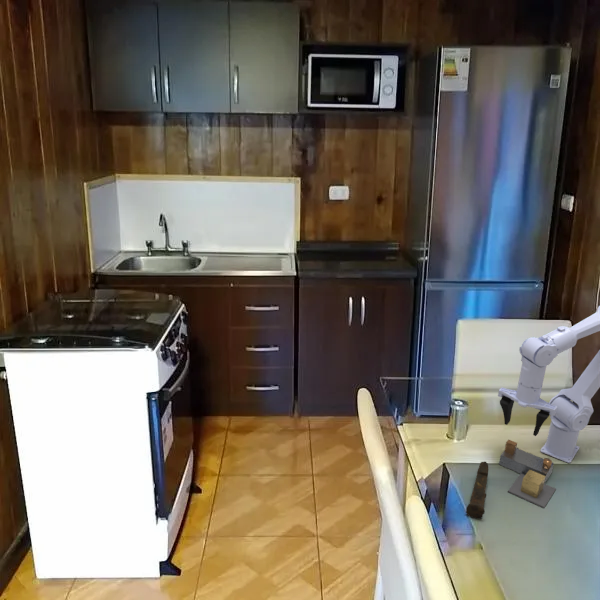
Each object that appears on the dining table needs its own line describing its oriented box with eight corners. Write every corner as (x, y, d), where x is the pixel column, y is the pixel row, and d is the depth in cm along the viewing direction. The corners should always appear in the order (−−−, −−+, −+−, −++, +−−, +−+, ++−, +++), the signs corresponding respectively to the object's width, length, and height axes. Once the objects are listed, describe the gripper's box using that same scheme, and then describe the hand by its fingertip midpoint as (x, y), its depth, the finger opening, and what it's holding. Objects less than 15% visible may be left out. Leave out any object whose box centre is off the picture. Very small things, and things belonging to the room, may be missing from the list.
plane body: (507, 454, 165) (510, 435, 163) (551, 472, 158) (556, 453, 156) (498, 464, 160) (502, 445, 158) (544, 483, 154) (548, 464, 151)
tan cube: (520, 491, 150) (523, 477, 148) (526, 482, 153) (529, 469, 152) (536, 498, 148) (539, 484, 146) (542, 489, 151) (545, 476, 149)
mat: (520, 474, 157) (520, 473, 156) (555, 489, 152) (556, 488, 151) (507, 491, 150) (507, 490, 150) (544, 508, 145) (544, 507, 145)
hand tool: (482, 522, 140) (485, 506, 138) (464, 516, 142) (467, 500, 140) (493, 476, 156) (496, 461, 155) (478, 471, 158) (480, 456, 156)
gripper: (497, 379, 155) (488, 424, 160) (554, 399, 147) (544, 445, 152) (507, 369, 160) (499, 413, 165) (563, 388, 152) (552, 434, 157)
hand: (521, 428), depth 159 cm, fingers open, 7 cm apart
